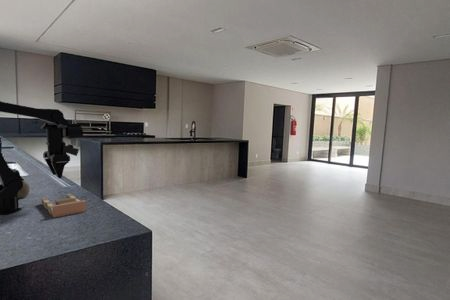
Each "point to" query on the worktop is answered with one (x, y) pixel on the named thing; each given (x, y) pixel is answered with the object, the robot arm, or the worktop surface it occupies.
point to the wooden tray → (48, 204)
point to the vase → (23, 190)
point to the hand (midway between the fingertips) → (57, 176)
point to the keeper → (65, 201)
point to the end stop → (69, 208)
